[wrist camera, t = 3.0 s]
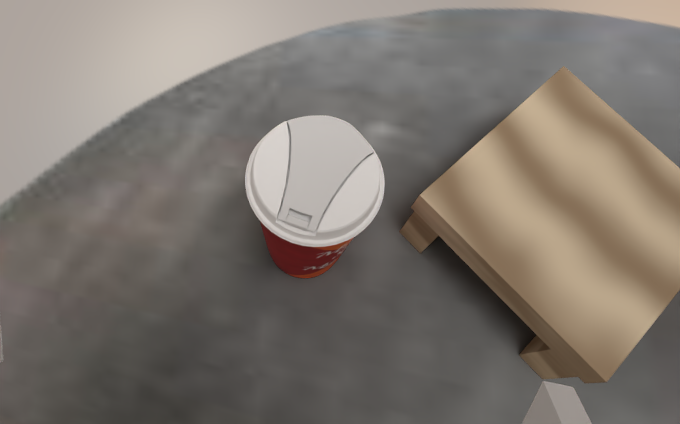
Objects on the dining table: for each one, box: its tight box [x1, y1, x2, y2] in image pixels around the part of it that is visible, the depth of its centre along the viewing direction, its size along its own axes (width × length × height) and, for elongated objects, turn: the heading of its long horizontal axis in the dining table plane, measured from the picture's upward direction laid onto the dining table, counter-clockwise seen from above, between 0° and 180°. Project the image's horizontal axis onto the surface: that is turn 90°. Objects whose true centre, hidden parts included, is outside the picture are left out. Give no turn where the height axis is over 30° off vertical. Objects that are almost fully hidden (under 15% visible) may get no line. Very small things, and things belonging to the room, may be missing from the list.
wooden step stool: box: [399, 66, 680, 383], centre depth 39 cm, size 16×16×8 cm
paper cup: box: [245, 115, 385, 278], centre depth 34 cm, size 8×8×14 cm
